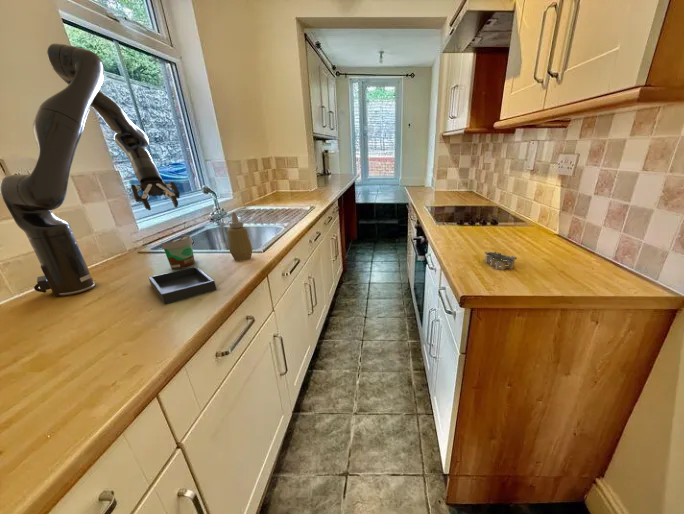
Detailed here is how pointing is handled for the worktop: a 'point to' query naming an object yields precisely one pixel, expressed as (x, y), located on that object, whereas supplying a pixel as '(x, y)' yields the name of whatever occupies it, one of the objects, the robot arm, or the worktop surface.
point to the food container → (179, 252)
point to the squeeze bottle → (239, 240)
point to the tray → (182, 284)
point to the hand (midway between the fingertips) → (163, 207)
